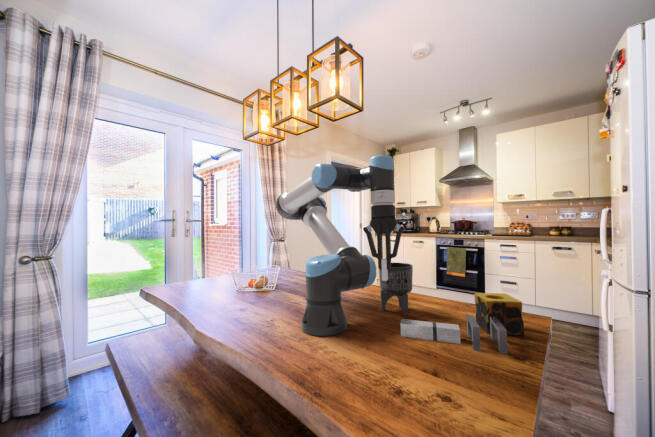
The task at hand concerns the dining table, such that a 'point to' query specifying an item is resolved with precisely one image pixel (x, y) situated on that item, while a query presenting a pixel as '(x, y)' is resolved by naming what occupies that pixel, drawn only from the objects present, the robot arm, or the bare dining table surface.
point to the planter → (397, 285)
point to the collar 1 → (473, 332)
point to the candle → (499, 312)
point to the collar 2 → (498, 334)
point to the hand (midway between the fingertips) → (385, 279)
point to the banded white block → (430, 331)
